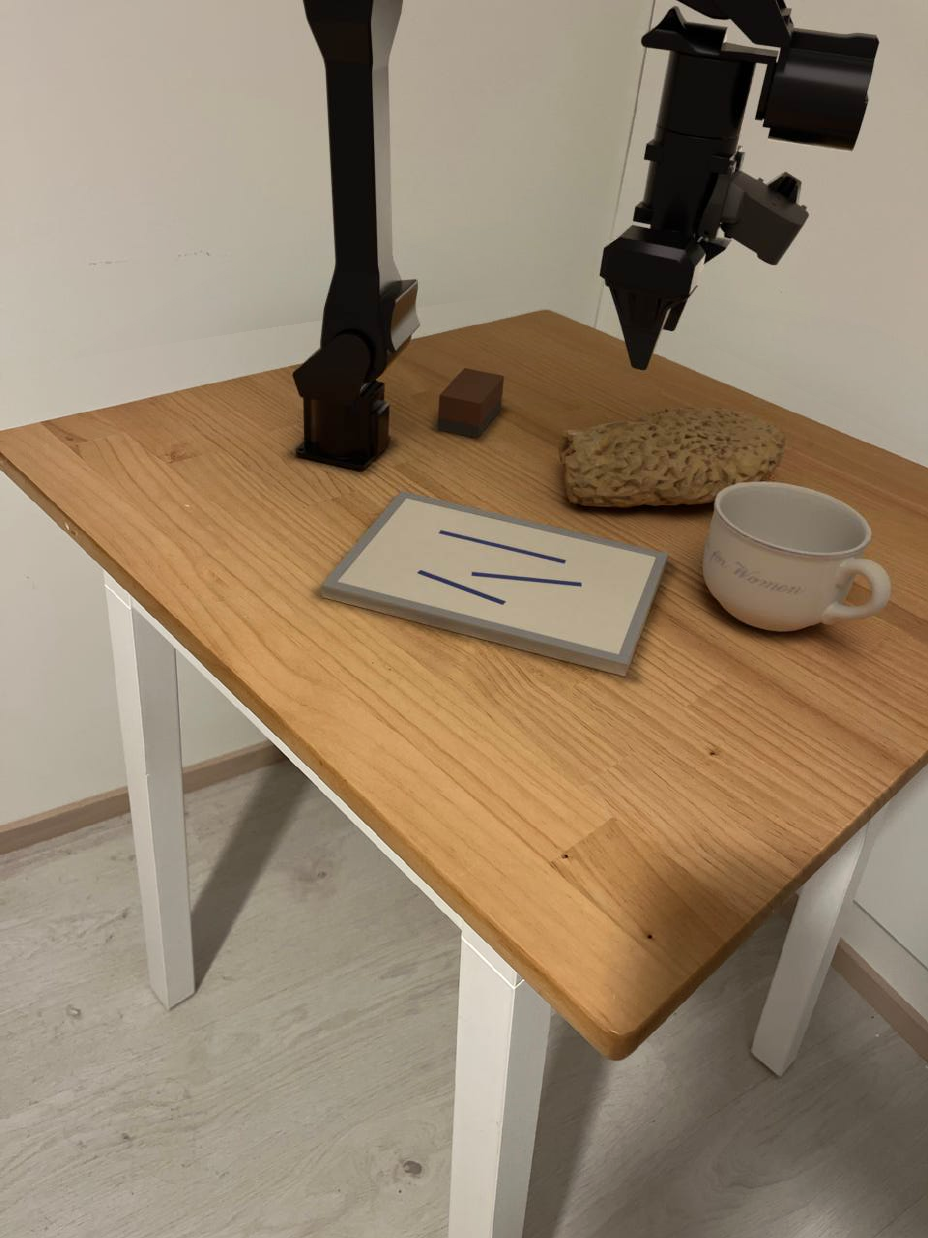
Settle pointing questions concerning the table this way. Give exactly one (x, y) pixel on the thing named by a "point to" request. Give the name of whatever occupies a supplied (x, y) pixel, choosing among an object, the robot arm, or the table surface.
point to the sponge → (668, 457)
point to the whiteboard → (503, 580)
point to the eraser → (470, 402)
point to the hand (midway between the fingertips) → (654, 348)
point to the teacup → (788, 557)
